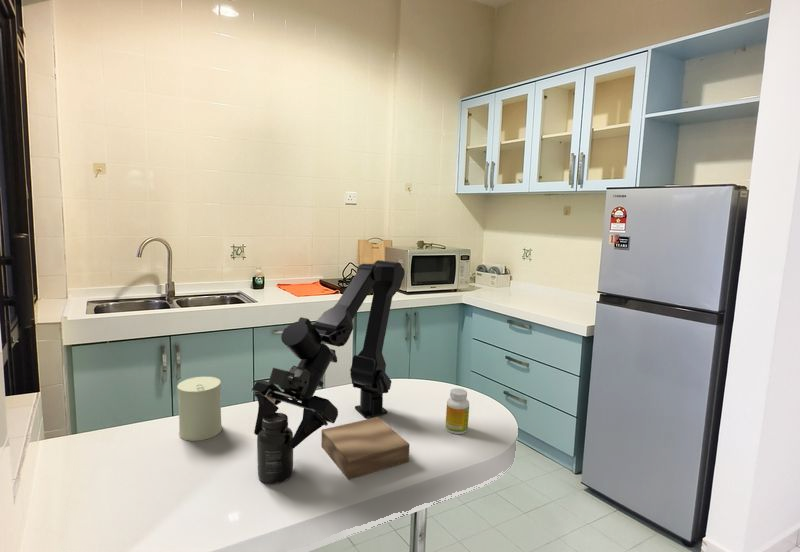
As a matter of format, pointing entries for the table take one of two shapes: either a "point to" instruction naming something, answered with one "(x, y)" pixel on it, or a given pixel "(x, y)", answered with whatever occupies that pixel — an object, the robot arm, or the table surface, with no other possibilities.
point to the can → (199, 408)
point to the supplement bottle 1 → (275, 449)
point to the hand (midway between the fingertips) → (273, 441)
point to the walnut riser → (364, 447)
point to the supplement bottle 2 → (457, 411)
